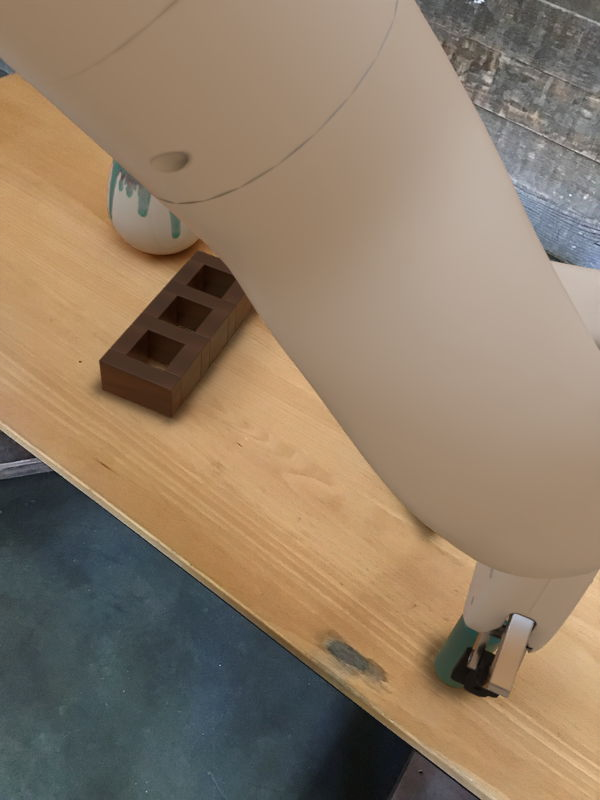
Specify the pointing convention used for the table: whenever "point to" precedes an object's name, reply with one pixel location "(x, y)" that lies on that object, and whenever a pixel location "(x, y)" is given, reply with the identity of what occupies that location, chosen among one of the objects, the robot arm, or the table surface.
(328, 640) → the table surface
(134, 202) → the vase
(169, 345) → the peg block
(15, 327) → the table surface
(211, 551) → the table surface
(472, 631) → the peg
